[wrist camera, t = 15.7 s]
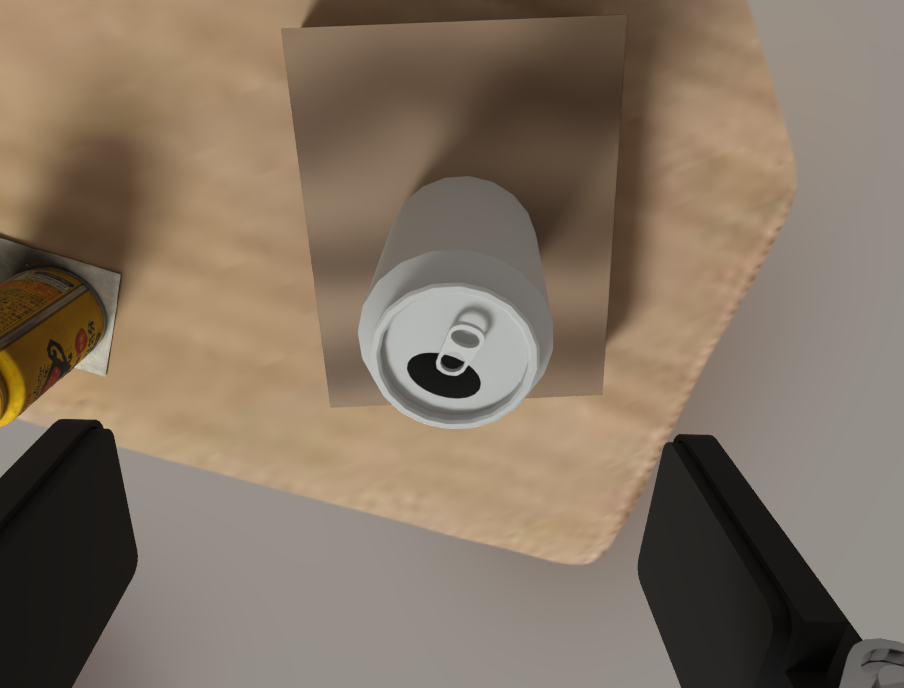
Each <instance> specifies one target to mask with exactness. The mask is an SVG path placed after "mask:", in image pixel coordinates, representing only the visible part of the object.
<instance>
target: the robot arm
mask: <svg viewBox="0 0 904 688" xmlns="http://www.w3.org/2000/svg"><path fill="white" fill-rule="evenodd" d="M137 559H138V554H137V548H136V543H135V538H134V533H133V528H132V524H131V519H130V513H129V508H128V504H127V498H126V493H125V489H124V483H123V479H122V473H121V468H120V464H119V459H118V454H117V449H116V444H115V439H114V435H113V433H112V431H111V430H110V429H104V428H103V425H102V424H101V423H100V421H98V420H83V419H60V420H58V421H56V422H55V423H54V424H53V425H52V426H51V427H50V428H49V429H48V430H47V431H46V432H45V433H44V434H43V435H42V436H41V437H40V438H39V439H38V440H37V441H36V442H35V443H34V444H33V445H32V446H31V447H30V448H29V449H28V450H27V451H26V452H25V453H24V454H23V456H21V457H20V458H19V459H18V460H17V461H16V462H15V463H14V465H12V466H11V468H9V469H8V470H7V471H6V472H5V474H4V475H3V476H2V477H1V478H0V688H72V686H73V684H74V683H75V681H76V679H77V677H78V675H79V674H80V672H81V670H82V668H83V666H84V665H85V663H86V661H87V659H88V657H89V656H90V654H91V652H92V650H93V648H94V646H95V645H96V643H97V641H98V639H99V637H100V635H101V634H102V632H103V630H104V628H105V627H106V625H107V623H108V621H109V619H110V618H111V616H112V614H113V612H114V610H115V608H116V607H117V605H118V603H119V601H120V599H121V598H122V596H123V594H124V592H125V590H126V588H127V586H128V585H129V583H130V581H131V580H132V578H133V575H134V573H135V570H136V567H137V561H138V560H137ZM638 575H639V580H640V583H641V586H642V589H643V591H644V594H645V596H646V599H647V601H648V604H649V606H650V609H651V611H652V614H653V617H654V619H655V622H656V624H657V626H658V629H659V632H660V634H661V637H662V640H663V642H664V645H665V647H666V650H667V652H668V655H669V657H670V660H671V663H672V665H673V668H674V670H675V673H676V675H677V678H678V680H679V683H680V686H681V688H904V644H903V643H901V642H896V641H891V640H886V639H866V640H862V639H861V637H860V636H859V635H858V633H857V632H856V630H855V629H854V628H853V626H852V625H851V624H850V622H849V621H848V619H847V618H846V617H845V615H844V614H843V612H842V611H841V610H840V608H839V607H838V606H837V604H836V603H835V601H834V600H833V599H832V597H831V596H830V595H829V593H828V592H827V590H826V589H825V588H824V586H823V585H822V584H821V582H820V581H819V579H818V578H817V577H816V575H815V574H814V573H813V571H812V570H811V569H810V567H809V566H808V565H807V563H806V562H805V560H804V559H803V558H802V556H801V555H800V553H799V552H798V551H797V549H796V548H795V547H794V545H793V544H792V542H791V541H790V539H789V538H788V537H787V535H786V534H785V533H784V531H783V530H782V529H781V527H780V526H779V524H778V523H777V522H776V520H775V519H774V518H773V517H772V515H771V514H770V512H769V511H768V510H767V508H766V507H765V505H764V504H763V503H762V501H761V500H760V499H759V497H758V496H757V494H756V493H755V492H754V490H753V489H752V488H751V486H750V485H749V483H748V482H747V481H746V479H745V478H744V477H743V475H742V474H741V473H740V471H739V470H738V468H737V467H736V465H735V464H734V463H733V461H732V460H731V459H730V457H729V456H728V455H727V453H726V452H725V450H724V449H723V448H722V446H721V445H720V444H719V442H718V441H717V439H716V438H714V436H712V435H692V434H691V435H689V434H679V435H677V436H676V437H675V439H674V441H673V442H667V443H666V444H665V445H664V448H663V451H662V456H661V460H660V465H659V469H658V474H657V478H656V483H655V487H654V491H653V496H652V500H651V505H650V509H649V514H648V519H647V523H646V527H645V532H644V536H643V541H642V545H641V549H640V554H639V559H638Z"/></svg>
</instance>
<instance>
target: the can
mask: <svg viewBox="0 0 904 688" xmlns="http://www.w3.org/2000/svg"><path fill="white" fill-rule="evenodd" d="M358 337H359V343H360V348H361V354H362V359H363V361H364V363H365V364H366V366H367V368H368V370H369V371H370V373H371V375H372V377H373V379H374V380H375V382H376V384H377V386H378V387H379V389H380V391H381V393H382V395H383V396H384V397H385V398H386V399H387V400H388V401H389V402H390V403H391V404H392V405H393V406H395V407H396V408H397V409H398V410H399V411H400V412H401V413H403V414H405V415H407V416H409V417H411V418H413V419H415V420H417V421H419V422H421V423H422V424H426V425H431V426H436V427H440V428H445V429H463V428H475V427H478V426H481V425H485V424H488V423H491V422H495V421H497V420H499V419H500V418H502V417H503V416H505V415H506V414H508V413H510V412H511V411H513V410H514V409H516V408H517V407H518V406H519V405H520V403H521V402H522V401H523V400H524V399H525V397H526V396H527V395H528V394H529V392H530V391H531V390H532V388H533V387H534V386H535V385H536V383H537V382H538V381H539V380H540V379H541V377H542V376H543V375H544V373H545V370H546V367H547V365H548V362H549V359H550V357H551V354H552V351H553V320H552V315H551V310H550V305H549V300H548V295H547V289H546V284H545V279H544V274H543V269H542V263H541V258H540V253H539V248H538V243H537V238H536V233H535V230H534V228H533V225H532V222H531V220H530V217H529V214H528V212H527V211H526V210H525V208H524V207H523V206H522V205H521V204H520V202H519V201H518V200H517V199H516V197H515V196H514V195H513V194H511V193H510V192H508V191H506V190H505V189H503V188H502V187H500V186H499V185H497V184H495V183H494V182H491V181H487V180H483V179H479V178H475V177H471V176H463V177H448V178H443V179H441V180H438V181H436V182H433V183H431V184H428V185H426V186H423V187H422V188H421V189H419V190H418V191H417V192H416V193H415V194H414V195H412V196H411V197H410V198H409V199H408V200H407V201H405V203H404V204H403V206H402V208H401V209H400V211H399V213H398V214H397V216H396V218H395V220H394V221H393V224H392V227H391V229H390V232H389V235H388V238H387V240H386V243H385V246H384V249H383V251H382V254H381V257H380V260H379V262H378V265H377V268H376V271H375V273H374V276H373V279H372V282H371V284H370V287H369V290H368V293H367V295H366V298H365V301H364V304H363V307H362V312H361V318H360V323H359V328H358Z"/></svg>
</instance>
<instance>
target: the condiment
mask: <svg viewBox="0 0 904 688" xmlns="http://www.w3.org/2000/svg"><path fill="white" fill-rule="evenodd" d="M26 264H28V266H26ZM120 277H121V274H117V273H114V272H111V271H108V270H105V269H101V268H98V267H95V266H92V265H89V264H85V263H81V262H79V261H76V260H73V259H70V258H66V257H62V256H60V255H56V254H52V253H48V252H45V251H42V250H37V249H33V248H30V247H27V246H25V245H21V244H18V243H15V242H12V241H9V240H5V239H2V238H0V427H1V426H4V425H6V424H8V423H9V422H11V421H13V420H14V419H15V418H16V417H18V416H19V415H21V414H22V413H23V412H24V411H25V410H26V409H27V408H28V407H29V406H30V405H31V404H32V403H33V402H35V401H36V400H37V399H38V398H39V397H40V396H41V395H43V394H44V393H45V392H46V391H47V390H48V389H49V388H50V387H52V386H53V385H54V384H55V383H56V382H57V381H59V380H60V379H61V378H63V377H64V376H65V375H66V374H67V373H69V372H70V371H71V370H72V369H73V368H74V367H75V368H78V369H81V370H84V371H89V372H92V373H95V374H99V375H101V376H103V377H105V375H106V369H107V362H108V357H109V352H110V346H111V339H112V334H113V327H114V320H115V313H116V307H117V296H118V290H119V283H120Z"/></svg>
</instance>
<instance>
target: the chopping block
mask: <svg viewBox="0 0 904 688" xmlns="http://www.w3.org/2000/svg"><path fill="white" fill-rule="evenodd" d="M626 28H627V15H605V16H581V17H556V18H531V19H506V20H481V21H456V22H431V23H406V24H382V25H357V26H332V27H307V28H282V29H281V33H282V40H283V48H284V56H285V63H286V71H287V79H288V86H289V94H290V101H291V109H292V117H293V124H294V132H295V140H296V147H297V155H298V162H299V170H300V178H301V185H302V193H303V201H304V208H305V216H306V224H307V231H308V239H309V246H310V254H311V262H312V269H313V277H314V285H315V292H316V300H317V307H318V315H319V323H320V330H321V338H322V346H323V353H324V361H325V368H326V376H327V384H328V391H329V399H330V407H331V408H333V407H354V406H375V405H392V404H391V403H390V402H389V401H388V400H387V399H386V398H385V397H384V396H383V395H382V393H381V391H380V389H379V387H378V386H377V384H376V382H375V380H374V379H373V377H372V375H371V373H370V371H369V370H368V368H367V366H366V364H365V363H364V361H363V359H362V354H361V348H360V343H359V337H358V328H359V323H360V318H361V312H362V307H363V304H364V301H365V298H366V295H367V293H368V290H369V287H370V284H371V282H372V279H373V276H374V273H375V271H376V268H377V265H378V262H379V260H380V257H381V254H382V251H383V249H384V246H385V243H386V240H387V238H388V235H389V232H390V229H391V227H392V224H393V221H394V220H395V218H396V216H397V214H398V213H399V211H400V209H401V208H402V206H403V204H404V203H405V201H407V200H408V199H409V198H410V197H411V196H412V195H414V194H415V193H416V192H417V191H418V190H419V189H421V188H422V187H423V186H426V185H428V184H431V183H433V182H436V181H438V180H441V179H443V178H448V177H463V176H471V177H475V178H479V179H483V180H487V181H491V182H494V183H495V184H497V185H499V186H500V187H502V188H503V189H505V190H506V191H508V192H510V193H511V194H513V195H514V196H515V197H516V199H517V200H518V201H519V202H520V204H521V205H522V206H523V207H524V208H525V210H526V211H527V212H528V214H529V217H530V220H531V222H532V225H533V228H534V230H535V233H536V238H537V243H538V248H539V253H540V258H541V263H542V269H543V274H544V279H545V284H546V289H547V295H548V300H549V305H550V310H551V315H552V320H553V351H552V354H551V357H550V359H549V362H548V365H547V367H546V370H545V373H544V375H543V376H542V377H541V379H540V380H539V381H538V382H537V383H536V385H535V386H534V387H533V388H532V390H531V391H530V392H529V394H528V395H527V396H526V397H525V398H542V397H563V396H584V395H602V392H603V376H604V361H605V346H606V331H607V316H608V301H609V285H610V270H611V255H612V240H613V225H614V210H615V195H616V179H617V164H618V149H619V134H620V119H621V104H622V88H623V73H624V58H625V43H626Z"/></svg>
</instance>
